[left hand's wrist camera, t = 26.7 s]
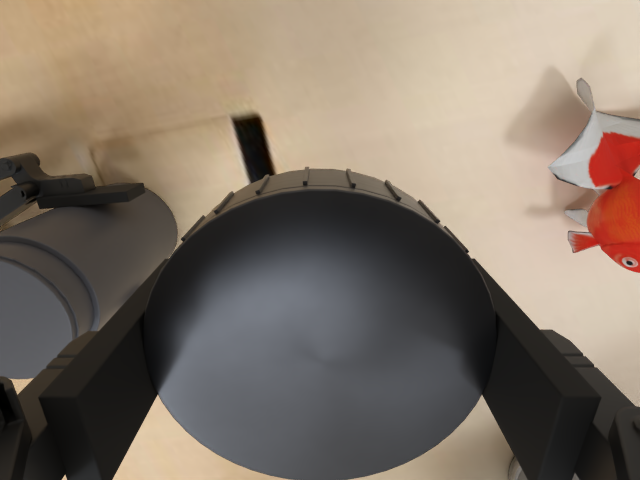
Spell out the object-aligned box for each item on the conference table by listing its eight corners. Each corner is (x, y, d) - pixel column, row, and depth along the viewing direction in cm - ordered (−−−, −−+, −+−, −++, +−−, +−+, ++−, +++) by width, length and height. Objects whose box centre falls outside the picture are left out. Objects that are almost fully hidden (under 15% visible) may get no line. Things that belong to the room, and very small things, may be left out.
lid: (433, 119, 10) (464, 126, 8) (487, 385, 14) (520, 443, 11) (118, 223, 11) (67, 256, 9) (241, 445, 15) (227, 510, 13)
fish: (517, 285, 32) (649, 287, 23) (489, 109, 33) (604, 40, 24) (607, 270, 35) (755, 267, 26) (579, 110, 37) (712, 50, 27)
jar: (171, 183, 34) (59, 252, 19) (182, 270, 37) (92, 385, 22) (75, 181, 34) (-111, 248, 19) (94, 268, 37) (-54, 382, 22)
